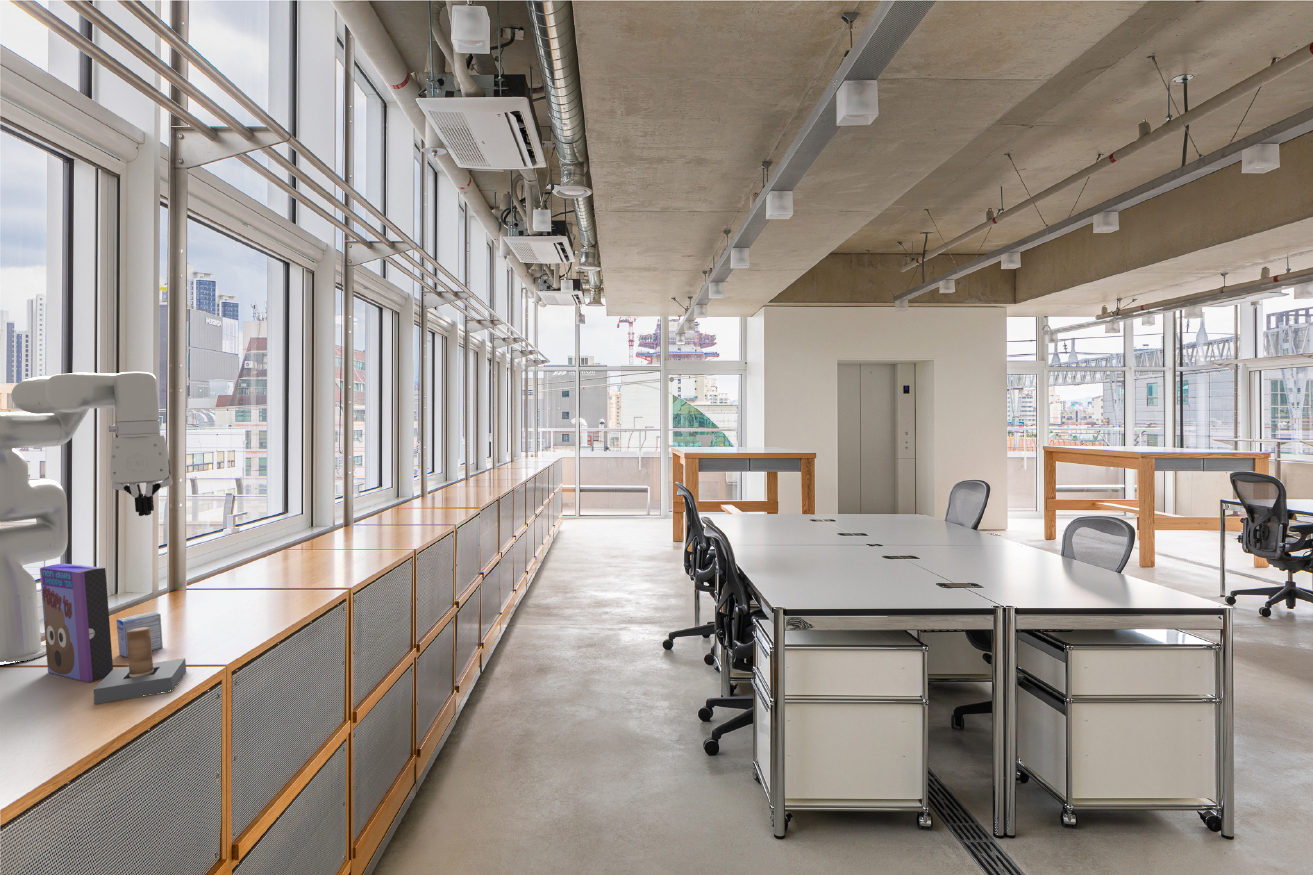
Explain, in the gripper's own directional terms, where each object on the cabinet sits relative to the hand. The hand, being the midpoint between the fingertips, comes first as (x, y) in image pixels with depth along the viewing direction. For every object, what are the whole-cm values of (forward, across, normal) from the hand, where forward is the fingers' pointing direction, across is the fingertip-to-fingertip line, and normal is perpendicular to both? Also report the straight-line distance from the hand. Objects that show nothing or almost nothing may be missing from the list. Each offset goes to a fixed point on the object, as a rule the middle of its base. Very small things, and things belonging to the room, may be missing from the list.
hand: (145, 514), depth 157 cm
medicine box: (+35, -8, +23) cm, 43 cm away
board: (+35, -1, -7) cm, 36 cm away
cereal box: (+35, -17, +11) cm, 40 cm away
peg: (+35, -1, -7) cm, 36 cm away
